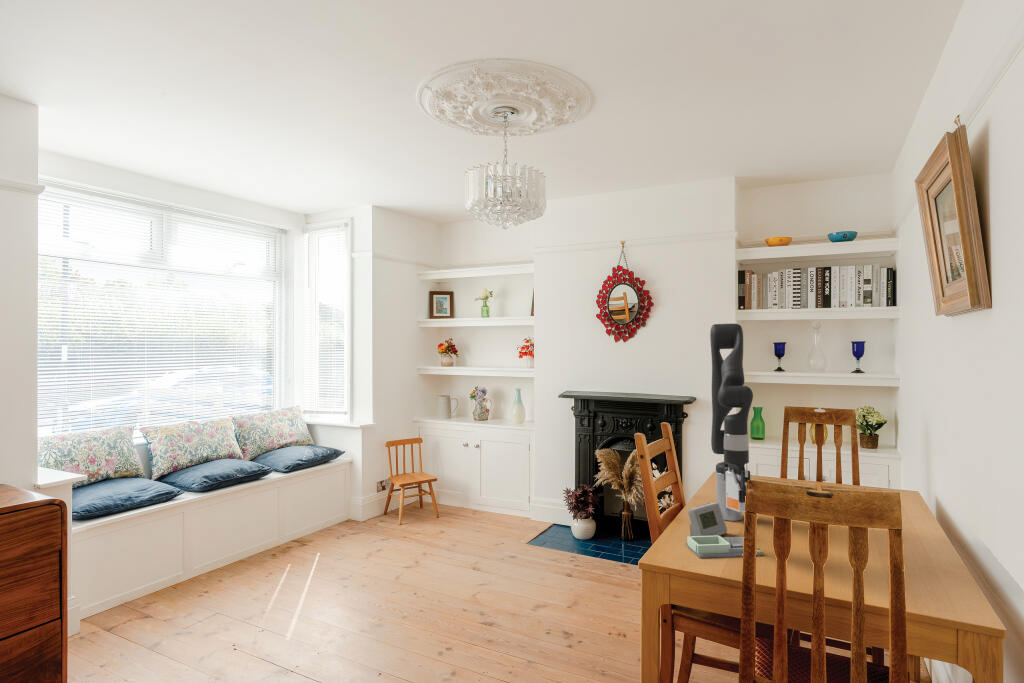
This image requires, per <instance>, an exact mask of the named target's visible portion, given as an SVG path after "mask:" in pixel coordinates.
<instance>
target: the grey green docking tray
mask: <svg viewBox="0 0 1024 683" xmlns="http://www.w3.org/2000/svg"><path fill="white" fill-rule="evenodd" d="M686 540H687V542H685V546H686V545H687V546H688V547H689V548H690V549H691V550H690V549H689V548H688V547H687V546H686V547H687V548H688V549H689V550H690V551H691V552H692V553H694V554H695V556H697V557H698V558H699V559H706V558H707V559H710V558H709V557H713V559H714V557H716V558H734V557H735V558H737V557H736V556H739V557H740V556H741V557H743V556H742V554H743V546H736V547H732V546H731V544H730V543H729V542H727V541H726V540H725V539H723V537H722V535H721V536H719V535H714V536H687V537H686ZM756 546H757V556H756V557H761V556H760V555H764V552H763V551H762V549H761V548H760V547H759V546H758V545H756ZM764 556H765V555H764Z"/></svg>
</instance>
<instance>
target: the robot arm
mask: <svg viewBox="0 0 1024 683" xmlns="http://www.w3.org/2000/svg"><path fill="white" fill-rule="evenodd" d="M709 339H710V351H711V352H710V353H711V406H712V407H711V408H712V409H711V410H712V420H711V435H710V436H711V440H710V442H711V445H710V446H711V450H712V452H713V454H716V455H723V461H720V462H717V464H715V485H716V487H715V488H716V491H715V493H716V494H715V495H716V501H715V502H717V503H718V504H719V505H720V508H721V511H722V515H723V518H724V521H732V522H733V521H736V522H737V521H740V520H743V512H738V511H735V510H732V509H729V508H726V471H729V472H732V475H733V476H734V480H735V483H736V484H737V485H738V489H739V490H738V491H739V502H741V503H745V496H746V482H747V481H748V480H750V481H751V470H746V467H745V465H746V464H749V463H750V452H749V451H750V450H749V449H750V448H749V445H750V444H749V443H750V442H749V435H748V433H749V432H748V420H749V419H748V418H749V414H750V409H751V406H752V402H753V400H754V393H753V391H752V389H751V388H750V386H747V385H744V384H745V373H744V365H743V363H744V360H743V359H744V332H743V327H742V325H741V324H739V323H714V324H712V325H711V328H710V332H709ZM721 350H731V351H730V352H729V354H728V355H727V356H726V357H725V358H723V356H722V354H721ZM733 408H736V409H737V408H739V409H740V410H739V411H738V412H737V413H733V414H730V412H731V411H732V409H733ZM728 414H729V415H728ZM722 426H723V429H722ZM736 474H737V475H740V474H741V475H740V476H741V480H740V481H739V480H738V478H737V475H736ZM740 483H741V485H740Z"/></svg>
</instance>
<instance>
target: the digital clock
mask: <svg viewBox="0 0 1024 683" xmlns="http://www.w3.org/2000/svg"><path fill="white" fill-rule="evenodd" d="M687 513H688V517H689V522H690V524H689V535H690V536H714V535H719V536H721V537H722V536H723V535H726V534H727V533H728V528H727V525H726V520H724V518H723V515H722V511H721V508H720V505H719V504H718V503H717V502H716V501H715V502H711V503H710V502H708V503H705V504H702V505H697V506H695V507H692V508H690V509H688V511H687Z"/></svg>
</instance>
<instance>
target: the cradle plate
mask: <svg viewBox="0 0 1024 683" xmlns="http://www.w3.org/2000/svg"><path fill="white" fill-rule="evenodd" d="M722 538H723V539H725V540H726V541H727V542H729V543H730V544H731V546H732V547H736V546H743V539H744V538H745V536H723V537H722Z"/></svg>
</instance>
